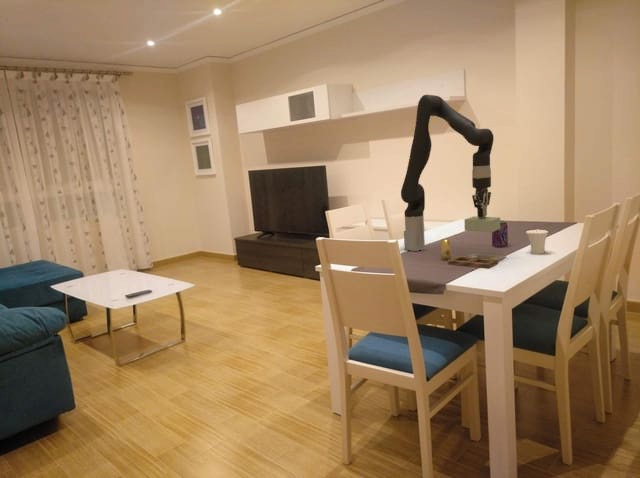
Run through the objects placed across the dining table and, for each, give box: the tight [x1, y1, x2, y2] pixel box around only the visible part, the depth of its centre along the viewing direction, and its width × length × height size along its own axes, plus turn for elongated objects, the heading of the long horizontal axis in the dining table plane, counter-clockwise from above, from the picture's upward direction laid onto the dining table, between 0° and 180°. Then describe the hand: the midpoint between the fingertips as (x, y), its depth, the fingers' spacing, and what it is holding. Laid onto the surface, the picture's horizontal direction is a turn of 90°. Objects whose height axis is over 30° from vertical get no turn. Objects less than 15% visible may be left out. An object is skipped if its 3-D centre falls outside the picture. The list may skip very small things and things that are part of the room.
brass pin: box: [440, 238, 452, 261], centre depth 206 cm, size 4×4×9 cm
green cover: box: [464, 204, 501, 233], centre depth 200 cm, size 12×9×11 cm
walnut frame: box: [447, 255, 499, 269], centre depth 195 cm, size 18×9×2 cm, turn 47°
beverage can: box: [491, 220, 509, 248], centre depth 224 cm, size 7×7×12 cm
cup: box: [525, 228, 549, 255], centre depth 205 cm, size 9×9×10 cm
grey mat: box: [464, 252, 508, 263], centre depth 203 cm, size 16×11×1 cm
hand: (482, 216), depth 200 cm, fingers closed on green cover, 3 cm apart
